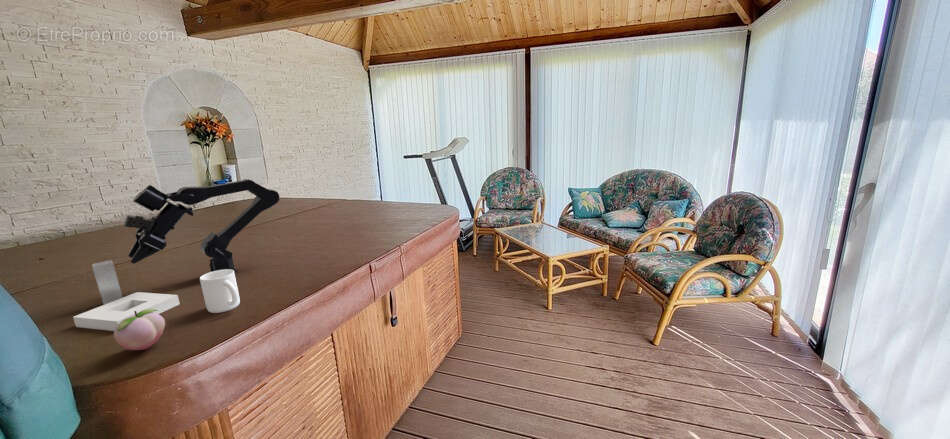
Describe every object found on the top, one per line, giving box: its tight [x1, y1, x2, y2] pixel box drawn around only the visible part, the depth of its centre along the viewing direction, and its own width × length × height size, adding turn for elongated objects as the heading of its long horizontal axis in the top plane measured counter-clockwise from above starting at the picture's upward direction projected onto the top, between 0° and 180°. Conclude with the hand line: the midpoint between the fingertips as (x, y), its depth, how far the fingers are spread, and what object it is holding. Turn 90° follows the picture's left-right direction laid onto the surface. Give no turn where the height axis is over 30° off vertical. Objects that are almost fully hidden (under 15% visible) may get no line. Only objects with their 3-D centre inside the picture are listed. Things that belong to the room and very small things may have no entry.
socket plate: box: [72, 291, 180, 332], centre depth 106 cm, size 16×16×3 cm
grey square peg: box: [91, 259, 124, 305], centre depth 114 cm, size 4×4×13 cm
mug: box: [199, 269, 241, 314], centre depth 107 cm, size 12×8×10 cm
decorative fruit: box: [113, 309, 166, 351], centre depth 87 cm, size 9×8×10 cm
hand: (130, 259), depth 117 cm, fingers open, 9 cm apart
